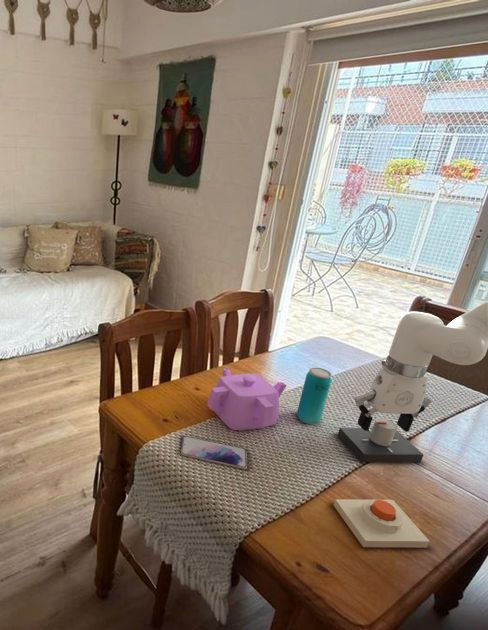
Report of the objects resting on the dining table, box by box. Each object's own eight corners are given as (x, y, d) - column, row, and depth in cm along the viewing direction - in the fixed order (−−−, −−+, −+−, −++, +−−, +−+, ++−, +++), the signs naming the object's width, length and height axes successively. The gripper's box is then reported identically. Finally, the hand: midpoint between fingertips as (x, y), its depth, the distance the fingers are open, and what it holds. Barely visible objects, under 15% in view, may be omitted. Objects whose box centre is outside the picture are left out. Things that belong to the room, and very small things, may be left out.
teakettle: (202, 422, 118) (208, 382, 113) (218, 393, 131) (225, 356, 126) (270, 444, 109) (280, 403, 105) (280, 411, 123) (289, 373, 118)
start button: (385, 506, 87) (387, 499, 86) (397, 521, 84) (400, 514, 83) (367, 506, 87) (369, 499, 86) (379, 521, 84) (381, 514, 83)
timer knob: (383, 434, 109) (389, 416, 107) (395, 446, 105) (402, 428, 103) (365, 434, 109) (371, 416, 107) (376, 446, 105) (383, 427, 103)
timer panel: (390, 437, 113) (394, 427, 111) (419, 464, 103) (424, 454, 102) (336, 437, 113) (339, 427, 111) (360, 464, 103) (364, 453, 102)
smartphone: (247, 468, 100) (180, 453, 105) (246, 471, 101) (180, 456, 105) (246, 448, 106) (183, 435, 111) (245, 451, 107) (182, 438, 111)
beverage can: (323, 427, 116) (337, 378, 111) (301, 426, 116) (314, 377, 111) (312, 414, 122) (325, 367, 116) (292, 414, 122) (303, 366, 116)
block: (389, 507, 91) (395, 493, 90) (426, 549, 82) (433, 534, 81) (332, 507, 91) (337, 492, 90) (362, 549, 82) (368, 533, 80)
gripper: (378, 373, 95) (356, 437, 102) (456, 375, 96) (429, 438, 102) (357, 357, 102) (338, 417, 109) (430, 358, 102) (406, 418, 109)
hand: (382, 427), depth 106 cm, fingers open, 9 cm apart
